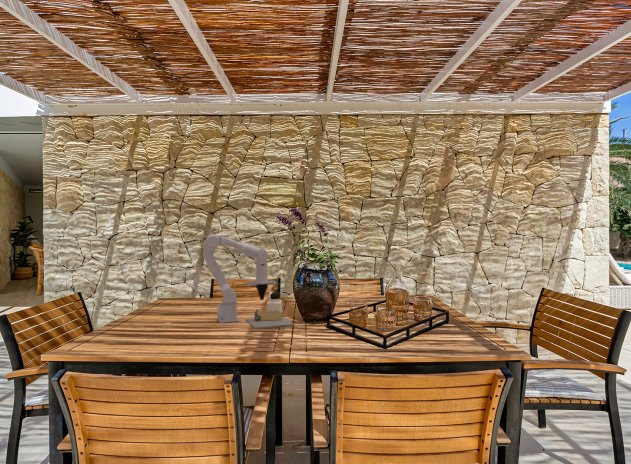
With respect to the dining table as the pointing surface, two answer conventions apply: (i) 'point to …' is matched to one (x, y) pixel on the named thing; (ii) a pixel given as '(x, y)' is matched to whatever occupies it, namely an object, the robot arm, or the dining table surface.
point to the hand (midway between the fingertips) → (261, 299)
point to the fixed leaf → (263, 312)
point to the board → (269, 323)
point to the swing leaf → (269, 315)
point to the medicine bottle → (274, 302)
